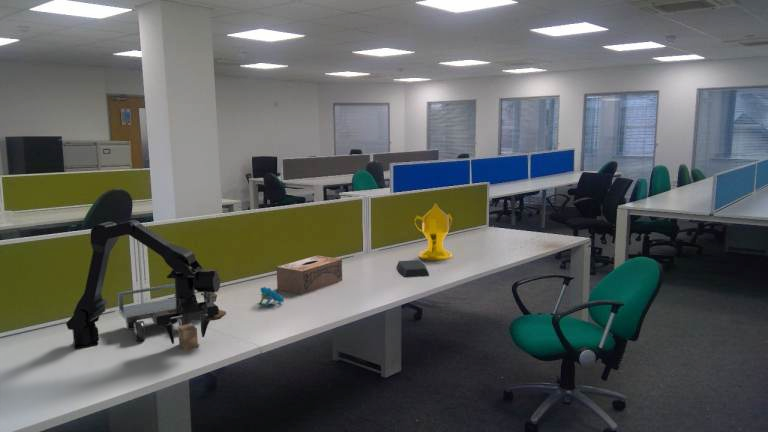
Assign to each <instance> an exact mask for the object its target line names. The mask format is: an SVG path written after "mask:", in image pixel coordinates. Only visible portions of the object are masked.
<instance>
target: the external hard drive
mask: <svg viewBox="0 0 768 432" xmlns="http://www.w3.org/2000/svg"><path fill="white" fill-rule="evenodd" d="M396 270H397V271H398V272H399V274H400V275H401V276H403V278H410V277H429V276H430V273H429V270H428V268H427V265H426V264H425V263H424V262H423V261H422V260H419V259H414V260H413V259H412V260H399V261H397V265H396Z"/></svg>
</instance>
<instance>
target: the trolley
mask: <svg viewBox="0 0 768 432" xmlns="http://www.w3.org/2000/svg"><path fill="white" fill-rule="evenodd" d="M171 288H175V283H171V284H165V285H159V286H158V285H157V286H153V287H145V288H140V289H134V290H128V291H121V292H120V291H119V292H117V299H118V300H117V301H118V312H119V314H120V315H121V317H122V318H123V319H124V320H125V323H126V328H127V329H128V330H132V329H133V333H134V337H135V341H137V342H138V341H144V340H146V339H147V330H146V329H147V328H146V325H145V322H144V320H145V319H148V320H149V319H153V314H154V313H155V312H161V311H167V312H168V313H175V312H176V298H175V297H173V298H168V299H163V300H162V299H161V300H156V301H149V302H144V303H143V302H142V303H138V304H133V305H128V306H124V300H123V296H126V295H134V294H140V293H144V292H152V291H157V290H163V289H171ZM174 321H178V326H181V325H186V324H192V323H191V322H192V321H190V322H186V321H185V320H184V318H183V317H182V318H177V319H171V322H174Z"/></svg>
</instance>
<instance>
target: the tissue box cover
mask: <svg viewBox="0 0 768 432" xmlns="http://www.w3.org/2000/svg"><path fill="white" fill-rule="evenodd" d="M340 282H343V259H342V258H336V257H330V256H329V257H328V256H323V255H314V256H310V257H306V258H303V259H300V260H296V261H293V262H289V263H286V264H282V265H278V266H276V287H277V290H279V291H286V292H290V293H294V294H298V295H299V294H301V295H305V294H308V293H310V292H311V293H312V292H314V291H316V290H319V289H323V288H325V287H327V286H331V285H334V284H337V283H340Z"/></svg>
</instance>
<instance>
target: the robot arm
mask: <svg viewBox="0 0 768 432" xmlns="http://www.w3.org/2000/svg"><path fill="white" fill-rule="evenodd" d="M127 235H128V236H130V237H132V238H133V239H135V240H137V241H138V242H139V243H141V244H142V245H144V246H146V247H147V248H148V249H150V250H151V251H153V252H155V253H156V254H157V255H159V256H160V257H161V258H162V259H163V261H164V262H165V264H166V265H167V266H168V267H169V268H171V269H172V270H171V272H170V273H169V274H168V275H166V278H167V279H173V281H174V283H173V284H175V287H174V298H176V312H175V313H168V312H167V311H161V312H155V313H154V314H153V318H152V322H153V323H154V324H155V325H156V326H157V327H160V328H162V329H163V328H164V330H165V332H166V334H167V336H168V338H169V340H170V343H171V344H172V345H174V344H175V337H174V332H173V324H172V323H171V322H172V321H171V319H177V318H182V317H183V318H184V320H185V321H186V322H190V321H191V322H192V321H199V320H200V319H201V320H200V332H201V338H205V335H206V332H207V330H208V325H209V324H210V321H212V320H211V319H212V318H214V317H215V315H218V314H219V310H220V308H219V306H218V305H217V304H215V302H214V303H212V302H211V303H206V302H204V301H201V302H198V301H197V294H196V291H197V292H198V293H201V292H202V293H204V292H214V293H218V292H219V291H220V287H221V286H220V285H221V278H220V276H219V273H218V272H217V269H204V267H203V266H202V265H201V264H200V262H199V261H198V260H197V259H196V254H195V253H194V252H193V251H191V250H189V249H188V248H185V247H184V246H179V245H175V244H173V243H171V242H169V241H168V240H166V239H165V238H163V237H162V236H160V235H158V234H157V233H155V232H154V231H153V230H151V229H149V228H148V227H146V226H145V225H143V224H142V223H141V222H140V221H139V220H136V219H132V220H128V221H125V222H124V221H123V222H118V223H117V222H114V221H107V222H103V223H99V224H97V225H95V226H92V228H91V230H90V235H89V236H90V238H89V242H90V245H91V248H92V255H91V259H90V263H89V268H88V272H87V277H86V283H85V286H84V287H85V288H84V291H83V294H82V296H81V297H80V299H79V300H78V302H77V303H76V306H75V308H74V311H73V315H72V316H71V317H70V319H69V320H68V321H67V322H66V323H65V324H66V327H67V329H68V330H72V332H71V333H72V345H73V348H74V349H75V350H77V349H82V348H88V347H92V346H97V345H99V341H100V337H99V328H98V327H97V326H96V322H98V321H99V319H100V317H101V316H102V315H103V313H104V312H105V311H106V306H107V305H106V304H107V301H108V299H103V296H102V291H103V287H104V282H105V277H106V272H107V267H108V263H109V259H110V254H111V251H112V250H113V249H114V247H115V245H116V244H117V242H118V240H119V238H120V237H123V236H127Z"/></svg>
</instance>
